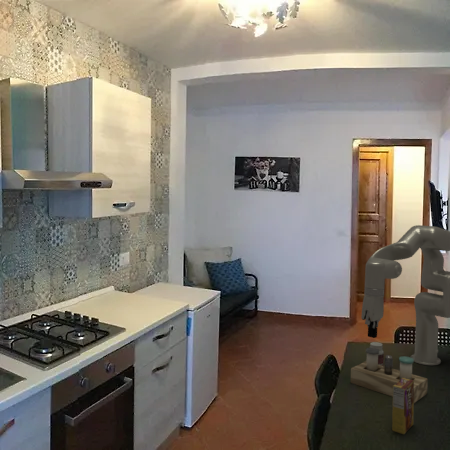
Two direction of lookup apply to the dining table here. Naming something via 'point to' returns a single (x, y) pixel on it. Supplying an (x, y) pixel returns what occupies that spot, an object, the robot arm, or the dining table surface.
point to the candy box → (403, 405)
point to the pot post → (388, 365)
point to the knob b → (406, 367)
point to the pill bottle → (381, 352)
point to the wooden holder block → (385, 380)
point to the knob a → (372, 359)
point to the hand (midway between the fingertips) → (372, 336)
